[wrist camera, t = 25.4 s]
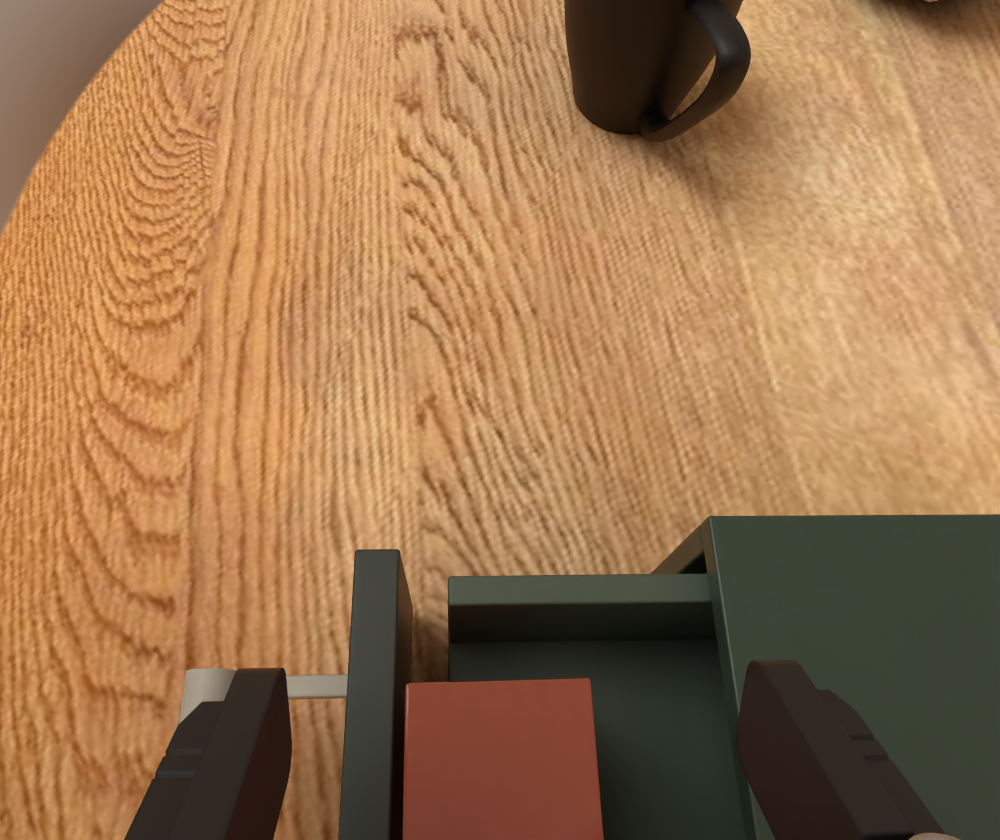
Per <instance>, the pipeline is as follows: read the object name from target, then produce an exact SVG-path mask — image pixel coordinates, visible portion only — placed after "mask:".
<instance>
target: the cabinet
mask: <svg viewBox="0 0 1000 840" xmlns="http://www.w3.org/2000/svg"><path fill="white" fill-rule="evenodd" d="M651 574H707V575H708V582H709V589H710V595H711V602H712V609H713V616H714V623H715V630H716V637H717V644H718V651H719V658H720V665H721V672H722V679H723V686H724V693H725V700H726V707H727V714H728V721H729V728H730V735H731V741H732V748H733V755H734V762H735V769H736V776H737V783H738V790H739V797H740V804H741V811H742V818H743V825H744V832H745V839H746V840H775V838H774V835H773V833H772V831H771V829H770V827H769V825H768V823H767V821H766V818H765V816H764V814H763V812H762V810H761V808H760V806H759V804H758V801H757V799H756V797H755V795H754V793H753V791H752V789H751V787H750V785H749V782H748V780H747V778H746V776H745V774H744V772H743V769H742V767H741V764H740V761H739V757H738V752H737V744H736V730H737V723H738V717H739V711H740V705H741V699H742V693H743V687H744V682H745V676H746V670H747V667H748V665H749V663H750V662H751V661H753V660H795V661H797V662H798V663H799V664H800V665H801V666H802V668H803V669H804V671H805V672H806V674H807V675H808V677H809V678H810V680H811V681H812V682H813V684H814V685H815V687H816V688H817V690H831V691H832V692H833V693H834V694H836V695H837V696H838V697H840V698H841V699H842V700H843V701H845V702H846V703H847V704H849V705H850V706H851V707H852V708H854V709H855V710H856V711H857V712H858V714H859V715H860V716H861V718H862V719H863V720H864V722H865V723H866V725H867V726H868V727H869V729H870V730H871V732H872V733H873V734H874V739H875V740H878V741H879V743H880V744H881V745H882V747H883V748H884V749H885V751H886V752H887V754H888V757H889V760H892V761H893V762H894V763H895V765H896V766H897V767H898V769H899V770H900V772H901V773H902V774H903V776H904V777H905V778H906V780H907V781H908V783H909V784H910V785H911V787H912V788H913V790H914V791H915V792H916V794H917V795H918V796H919V798H920V799H921V801H922V802H923V803H924V805H925V806H926V807H927V809H928V810H929V812H930V813H931V814H932V816H933V817H934V819H935V820H936V821H937V823H938V824H939V825H940V827H941V828H942V830H943V831H944V832H945V834H946V835H949V836H953V837H956V838H958V839H961V840H1000V514H996V515H825V516H709V517H708V518H707V519H706V520H705V521H704V522H703V523H702V524H701V525H700V526H699V527H698V528H697V529H695V530H694V531H693V532H692V533H691V534H690V535H689V536H688V537H687V538H686V539H685V540H684V541H683V542H682V543H681V544H680V545H679V546H678V547H677V548H676V549H675V550H674V551H673V552H672V553H671V554H670V555H669V556H668V557H667V558H666V559H665V560H664V561H663V562H662V563H661V564H660V565H659V566H658V567H657V568H656V569H655V570H654V571H653V572H652V573H651Z"/></svg>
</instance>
